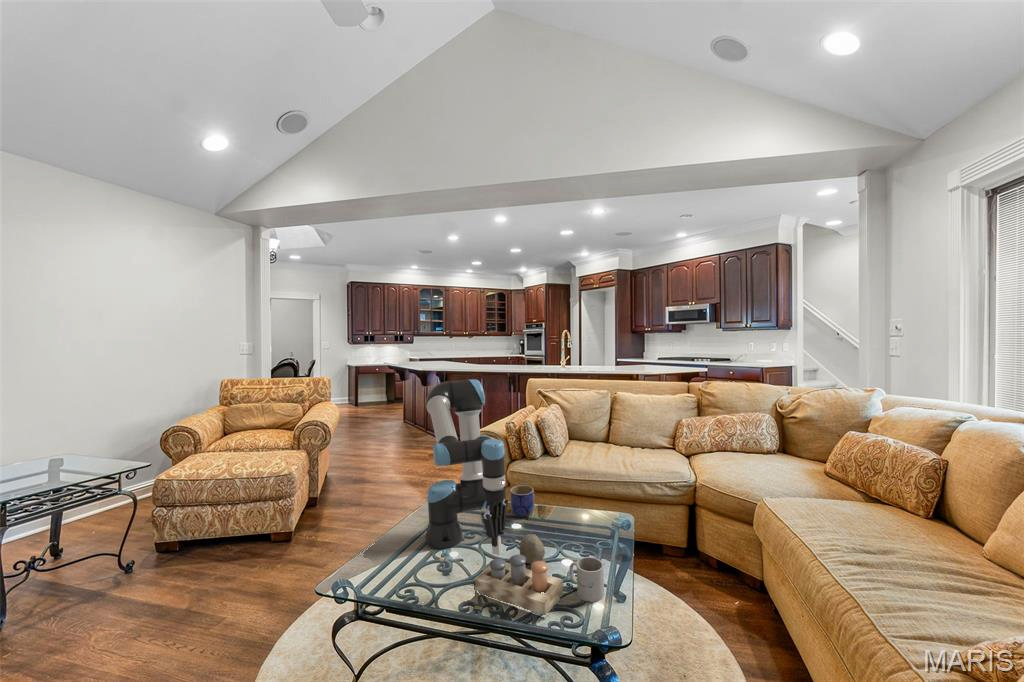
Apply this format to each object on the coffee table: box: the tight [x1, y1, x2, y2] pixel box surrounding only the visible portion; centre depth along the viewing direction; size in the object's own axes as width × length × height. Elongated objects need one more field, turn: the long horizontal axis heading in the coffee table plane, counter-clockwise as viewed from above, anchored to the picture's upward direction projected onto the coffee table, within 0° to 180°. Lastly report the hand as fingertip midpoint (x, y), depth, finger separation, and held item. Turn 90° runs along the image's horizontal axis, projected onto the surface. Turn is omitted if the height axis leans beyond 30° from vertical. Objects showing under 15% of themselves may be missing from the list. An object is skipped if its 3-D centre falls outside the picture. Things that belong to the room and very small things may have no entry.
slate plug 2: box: [509, 554, 527, 584], centre depth 148 cm, size 5×5×7 cm
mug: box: [569, 556, 605, 603], centre depth 149 cm, size 12×9×10 cm
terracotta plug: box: [530, 560, 549, 591], centre depth 144 cm, size 5×5×7 cm
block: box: [474, 562, 564, 615], centre depth 149 cm, size 26×13×5 cm, turn 59°
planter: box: [509, 484, 535, 518], centre depth 205 cm, size 11×11×11 cm
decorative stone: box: [519, 533, 546, 565], centre depth 166 cm, size 10×8×10 cm
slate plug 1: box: [489, 558, 507, 580], centre depth 152 cm, size 5×5×7 cm
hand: (496, 553), depth 152 cm, fingers closed
